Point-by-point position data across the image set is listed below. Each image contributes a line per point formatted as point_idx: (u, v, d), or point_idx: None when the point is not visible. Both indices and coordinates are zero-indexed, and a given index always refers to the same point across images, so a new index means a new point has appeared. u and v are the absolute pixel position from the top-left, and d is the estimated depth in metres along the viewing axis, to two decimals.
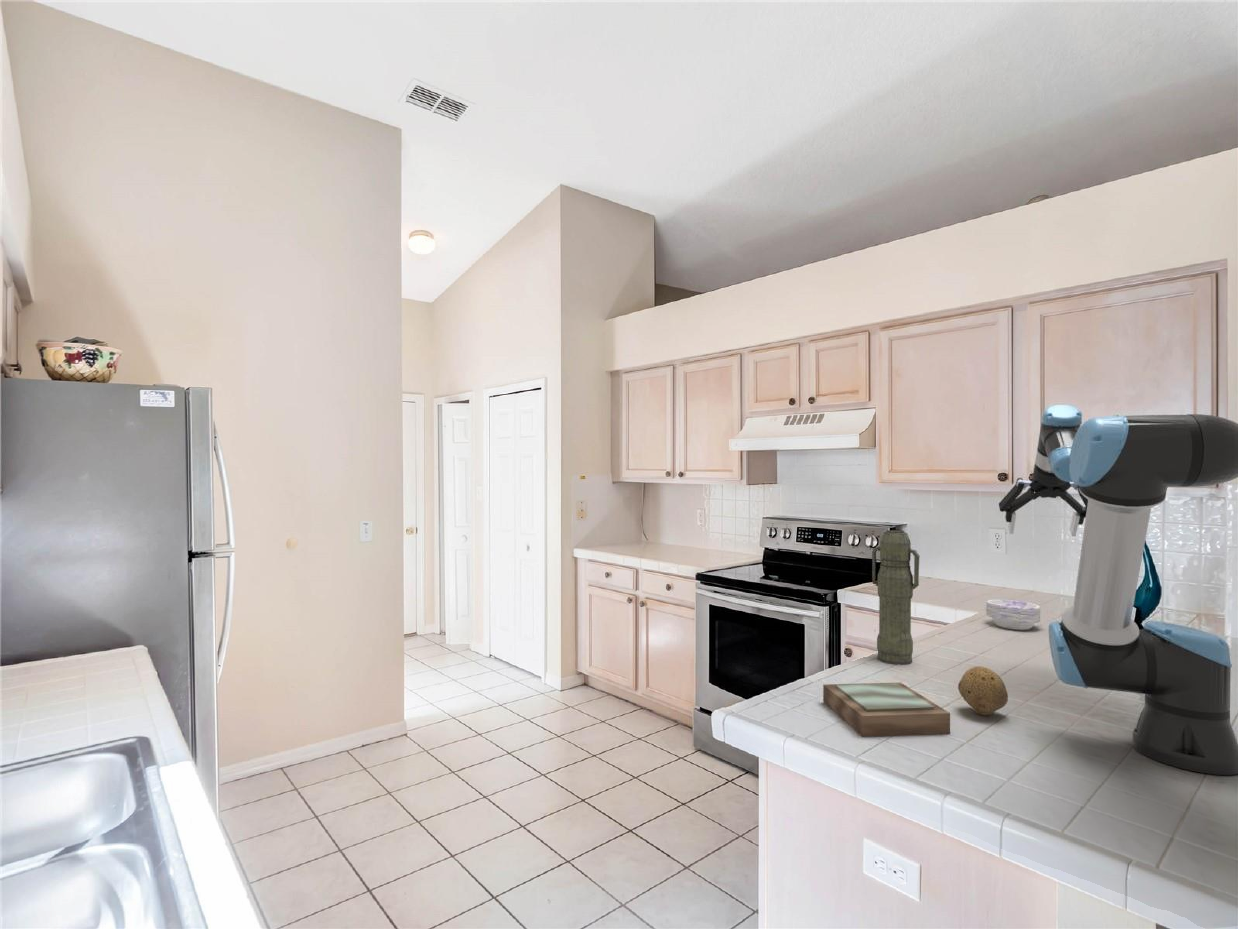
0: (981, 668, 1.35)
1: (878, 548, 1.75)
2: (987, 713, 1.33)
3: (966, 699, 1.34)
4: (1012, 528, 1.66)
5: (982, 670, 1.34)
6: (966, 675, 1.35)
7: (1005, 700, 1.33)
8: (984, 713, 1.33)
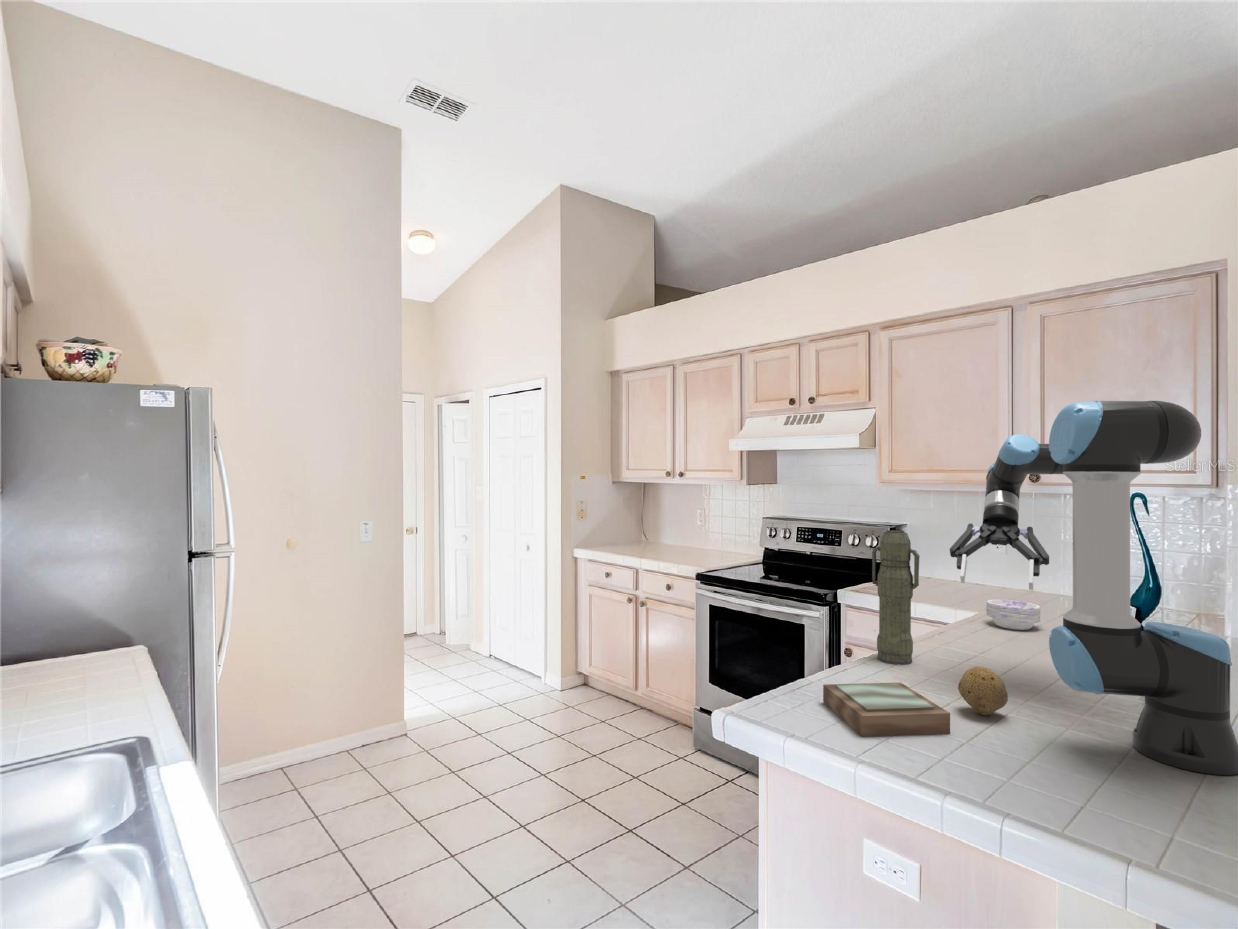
0: (981, 668, 1.35)
1: (878, 548, 1.75)
2: (987, 713, 1.33)
3: (966, 699, 1.34)
4: (962, 569, 1.51)
5: (982, 670, 1.34)
6: (966, 675, 1.35)
7: (1005, 700, 1.33)
8: (984, 713, 1.33)
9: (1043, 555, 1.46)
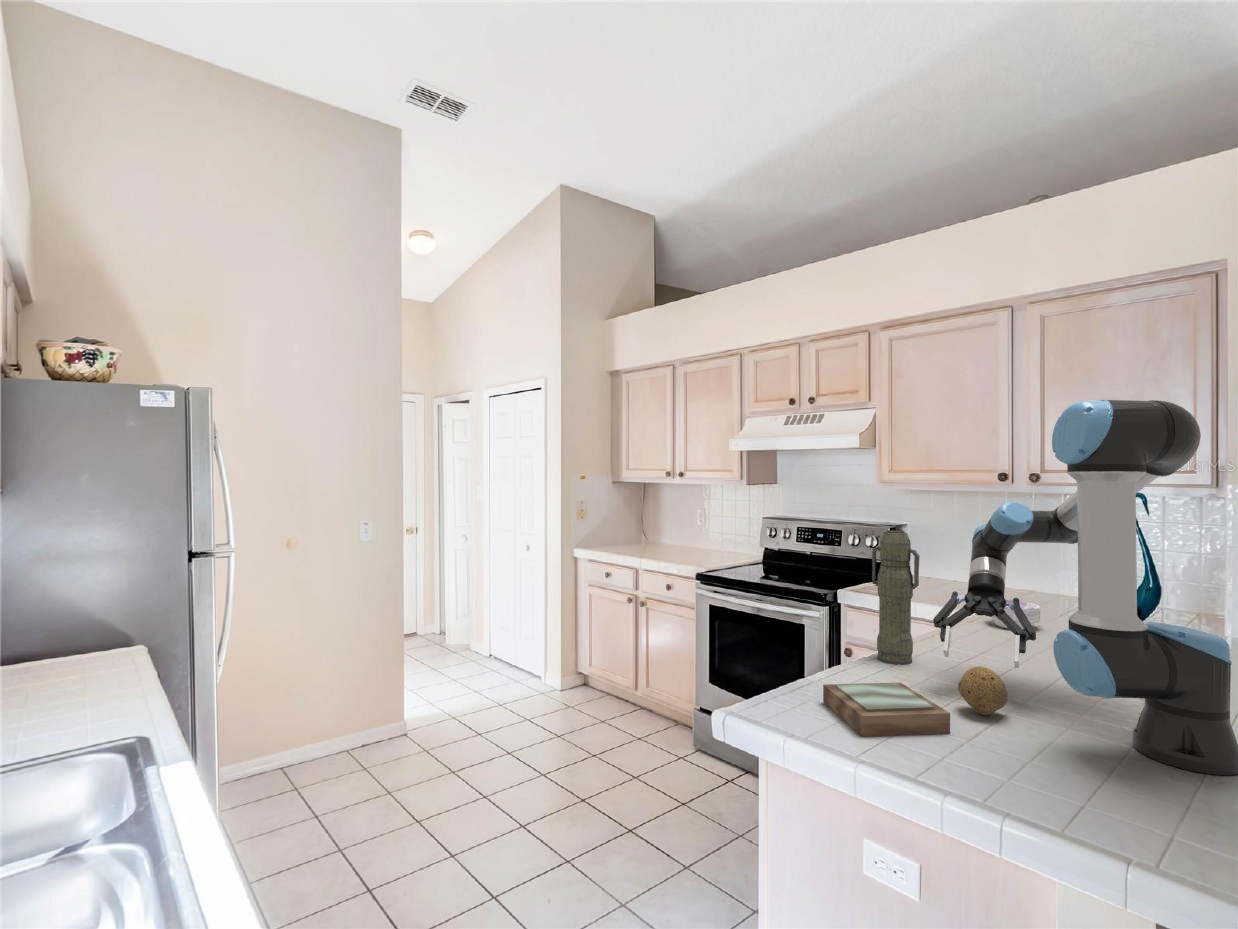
0: (981, 668, 1.35)
1: (878, 548, 1.75)
2: (987, 713, 1.33)
3: (966, 699, 1.34)
4: (946, 643, 1.45)
5: (982, 670, 1.34)
6: (966, 675, 1.35)
7: (1005, 700, 1.33)
8: (984, 713, 1.33)
9: (1029, 631, 1.39)
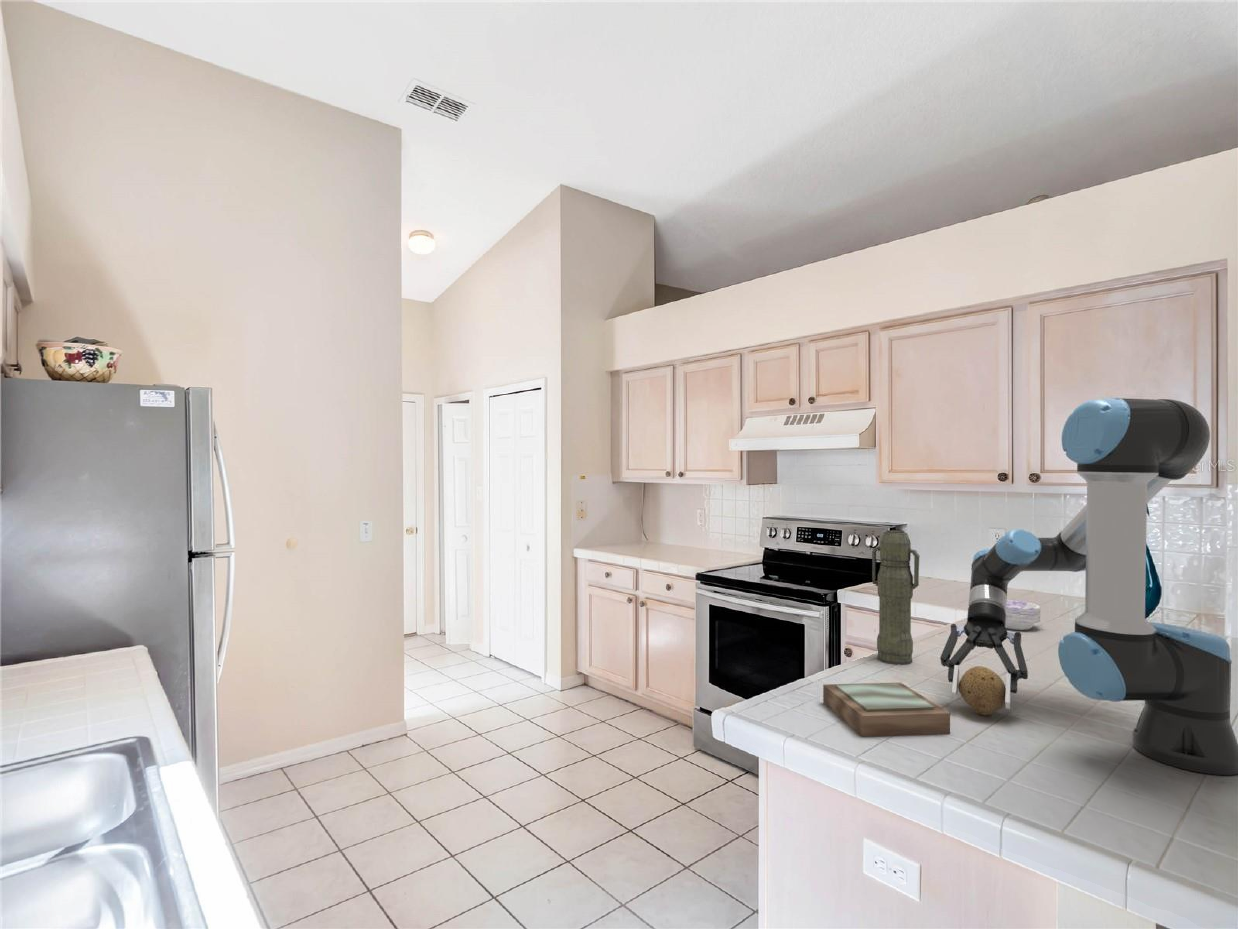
0: (981, 668, 1.35)
1: (878, 548, 1.75)
2: (987, 713, 1.33)
3: (966, 699, 1.34)
4: (954, 684, 1.36)
5: (982, 670, 1.34)
6: (966, 675, 1.35)
7: None
8: (984, 713, 1.33)
9: (1021, 669, 1.33)
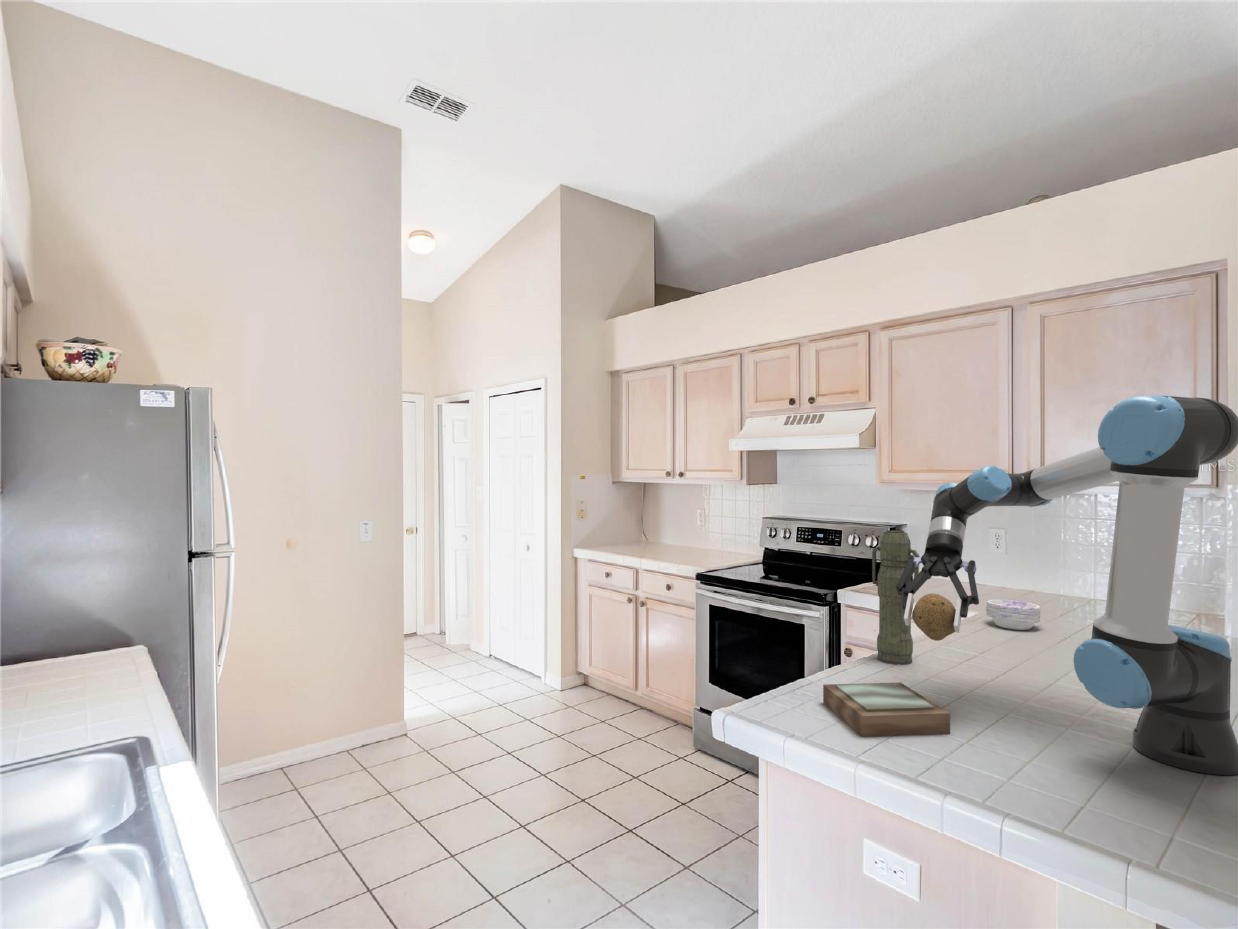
0: (933, 594, 1.37)
1: (878, 548, 1.75)
2: (938, 638, 1.35)
3: (918, 625, 1.37)
4: (907, 611, 1.38)
5: (934, 596, 1.36)
6: (918, 602, 1.38)
7: None
8: (935, 638, 1.36)
9: (972, 594, 1.35)
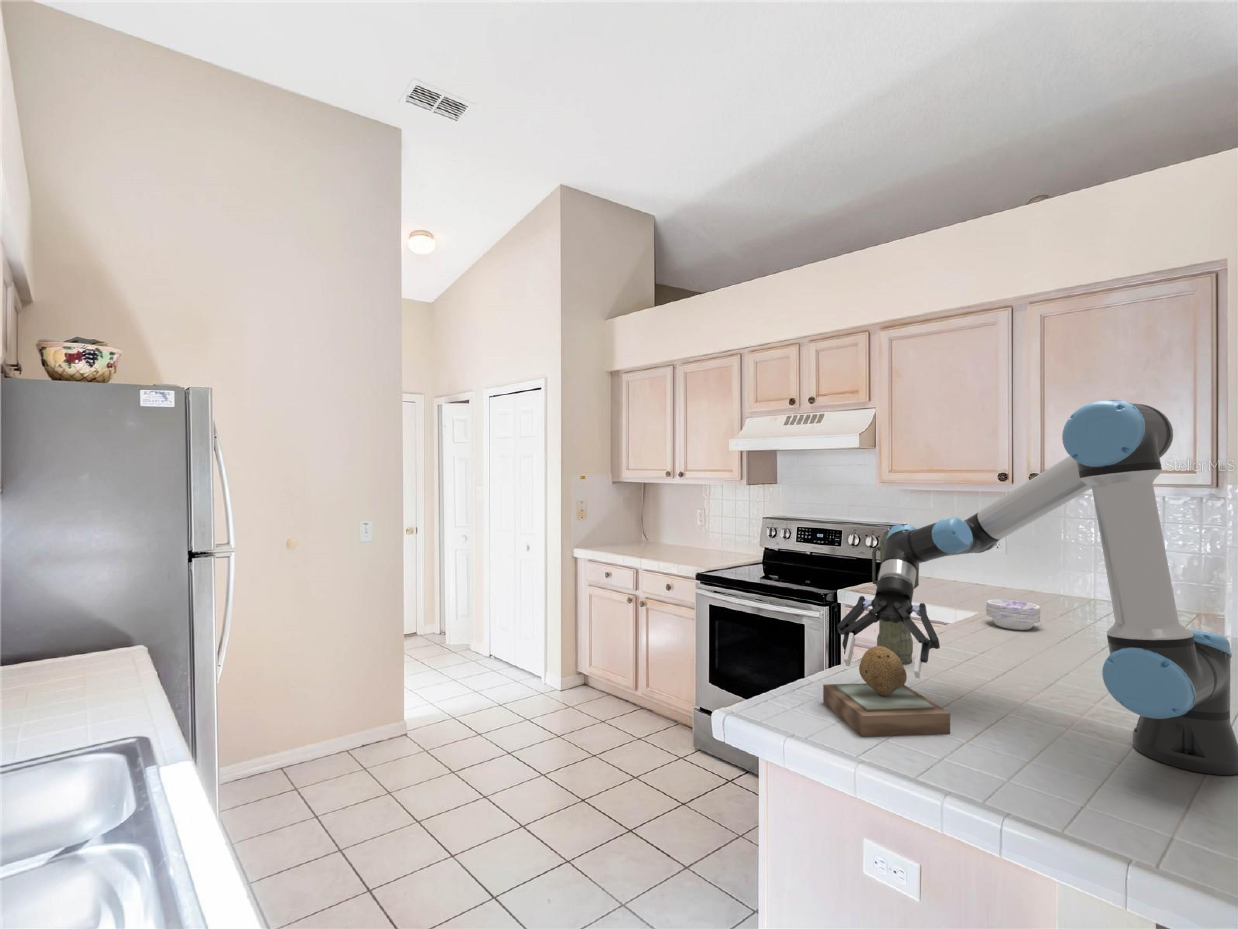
0: (878, 647, 1.33)
1: (878, 548, 1.75)
2: (886, 692, 1.31)
3: (865, 679, 1.33)
4: (847, 651, 1.35)
5: (879, 649, 1.33)
6: (864, 655, 1.34)
7: (903, 678, 1.31)
8: (883, 693, 1.31)
9: (932, 638, 1.30)
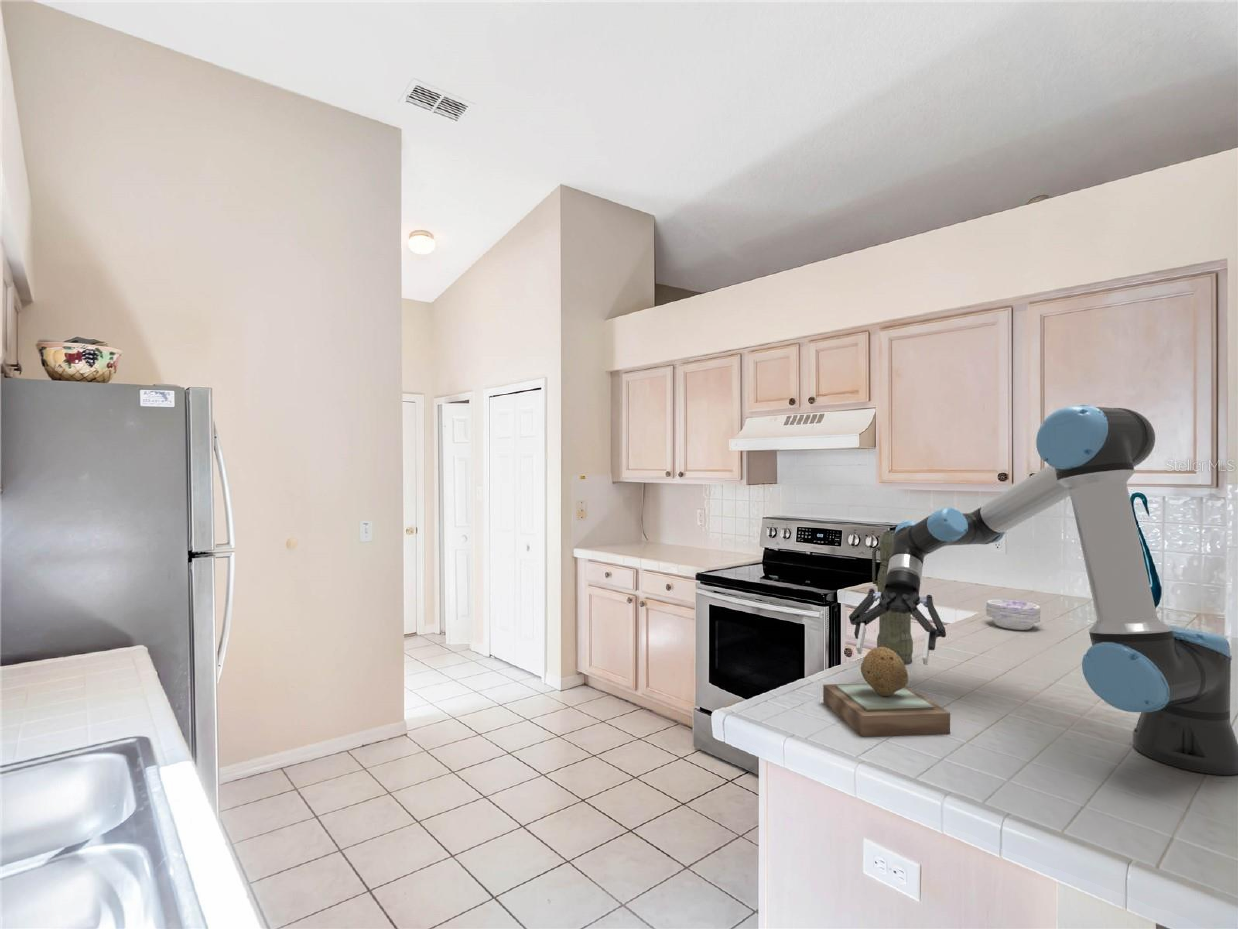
0: (882, 648, 1.33)
1: (878, 548, 1.75)
2: (886, 694, 1.31)
3: (866, 679, 1.33)
4: (859, 640, 1.44)
5: (883, 650, 1.32)
6: (867, 655, 1.33)
7: (904, 681, 1.31)
8: (883, 694, 1.31)
9: (939, 627, 1.39)
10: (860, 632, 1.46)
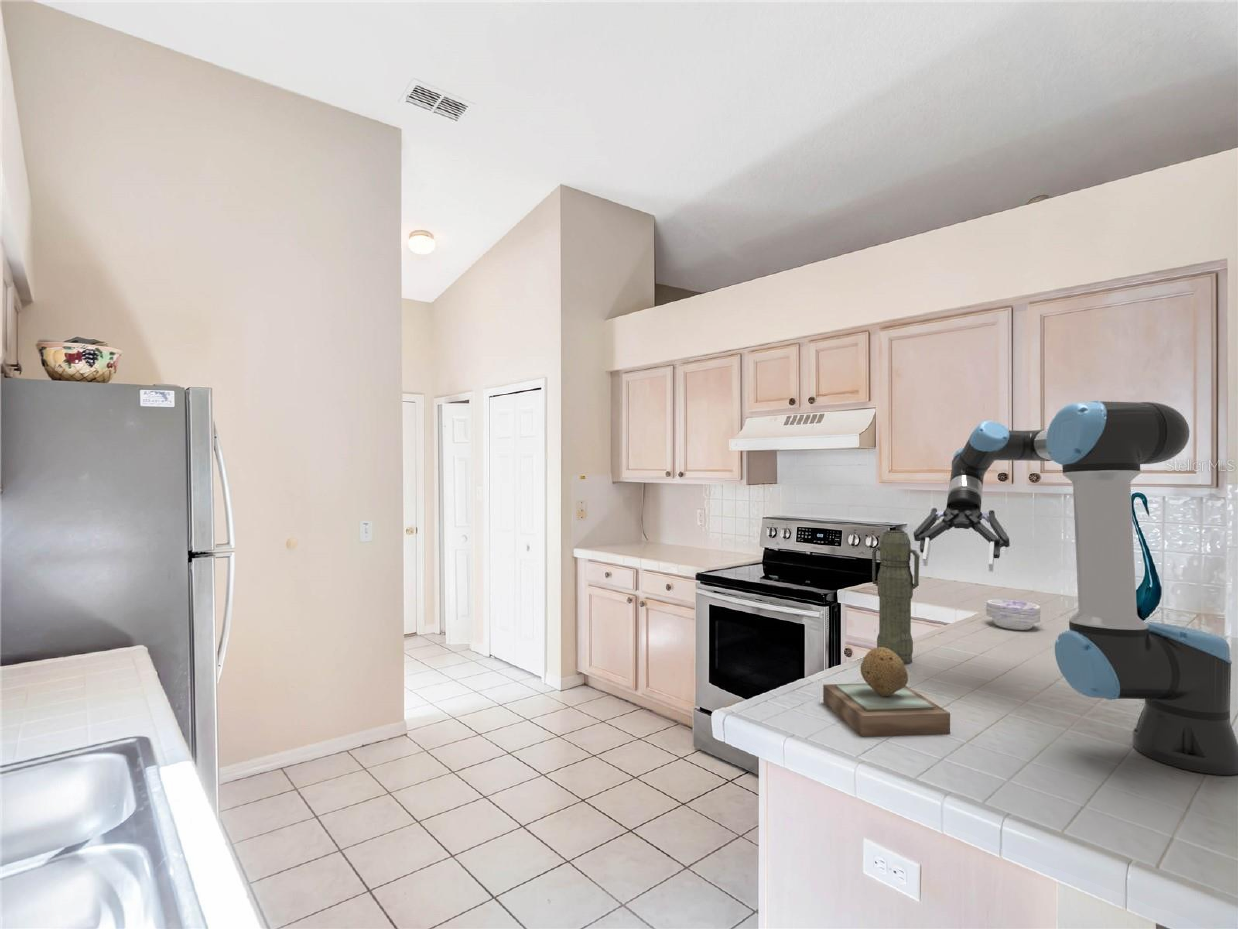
0: (881, 648, 1.33)
1: (878, 548, 1.75)
2: (886, 694, 1.31)
3: (866, 680, 1.32)
4: (925, 552, 1.52)
5: (882, 650, 1.32)
6: (867, 656, 1.33)
7: (904, 681, 1.31)
8: (883, 694, 1.31)
9: (1003, 537, 1.47)
10: (925, 545, 1.53)
